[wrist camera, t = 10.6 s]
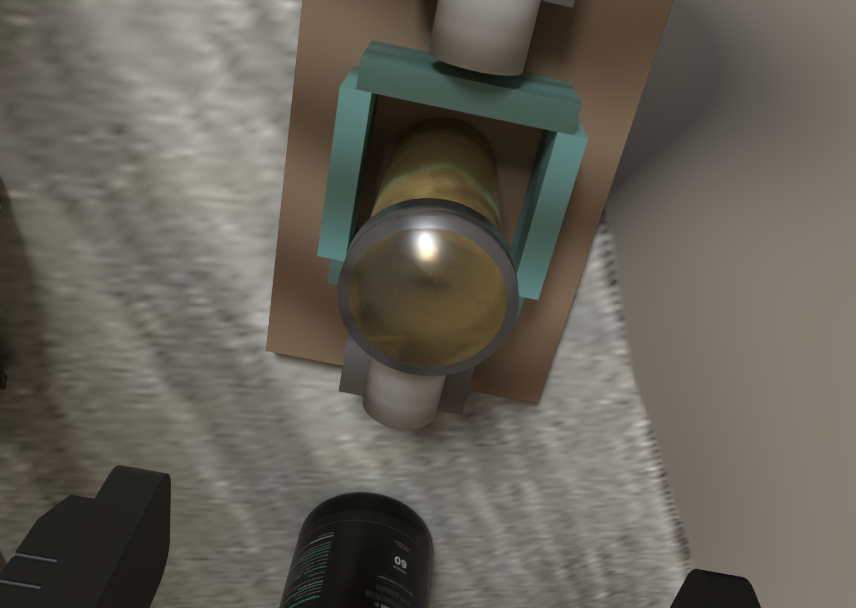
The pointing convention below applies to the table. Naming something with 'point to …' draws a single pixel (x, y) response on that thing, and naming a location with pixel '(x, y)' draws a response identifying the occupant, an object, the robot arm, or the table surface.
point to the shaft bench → (509, 138)
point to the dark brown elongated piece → (2, 380)
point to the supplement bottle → (360, 556)
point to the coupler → (432, 257)
